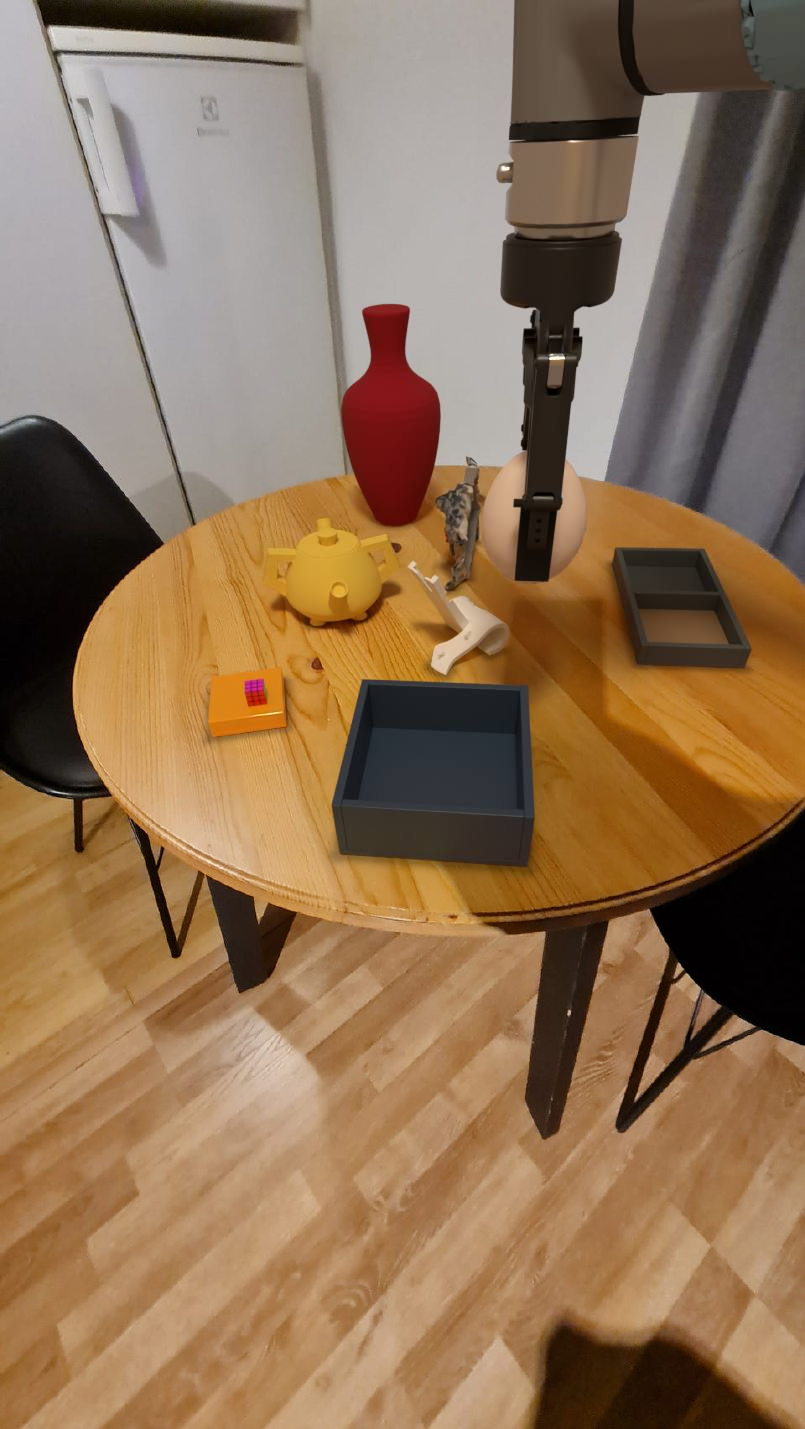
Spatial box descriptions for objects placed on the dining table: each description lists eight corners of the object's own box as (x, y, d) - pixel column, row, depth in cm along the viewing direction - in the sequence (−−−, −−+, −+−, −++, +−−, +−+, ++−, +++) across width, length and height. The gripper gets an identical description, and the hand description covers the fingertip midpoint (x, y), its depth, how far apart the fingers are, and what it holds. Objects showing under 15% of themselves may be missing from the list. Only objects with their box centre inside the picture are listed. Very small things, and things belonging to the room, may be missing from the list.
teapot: (415, 640, 82) (413, 561, 75) (273, 660, 80) (255, 581, 73) (388, 563, 97) (384, 490, 89) (267, 579, 95) (252, 505, 87)
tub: (522, 734, 69) (528, 685, 64) (527, 867, 57) (534, 817, 52) (367, 727, 71) (362, 678, 66) (339, 854, 59) (331, 805, 54)
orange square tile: (212, 737, 71) (203, 708, 68) (215, 691, 76) (207, 662, 74) (286, 727, 71) (280, 697, 68) (284, 681, 77) (278, 652, 74)
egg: (569, 554, 62) (587, 428, 54) (584, 604, 55) (607, 470, 48) (477, 555, 62) (482, 431, 54) (481, 605, 56) (487, 473, 48)
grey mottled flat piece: (452, 540, 102) (453, 455, 93) (479, 542, 101) (483, 456, 92) (435, 591, 91) (434, 500, 82) (466, 593, 90) (468, 502, 81)
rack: (699, 566, 93) (704, 548, 91) (744, 668, 76) (752, 648, 74) (611, 564, 94) (615, 547, 92) (636, 664, 77) (641, 645, 75)
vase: (376, 548, 101) (360, 326, 80) (336, 512, 110) (313, 306, 90) (457, 524, 106) (462, 309, 85) (412, 492, 115) (406, 292, 95)
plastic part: (508, 647, 81) (517, 563, 73) (443, 677, 77) (445, 591, 69) (469, 619, 85) (474, 537, 77) (407, 646, 81) (405, 562, 73)
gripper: (505, 213, 50) (490, 497, 65) (500, 257, 34) (482, 618, 49) (605, 209, 49) (567, 498, 64) (649, 252, 33) (584, 622, 49)
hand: (530, 550), depth 57 cm, fingers closed on egg, 9 cm apart
